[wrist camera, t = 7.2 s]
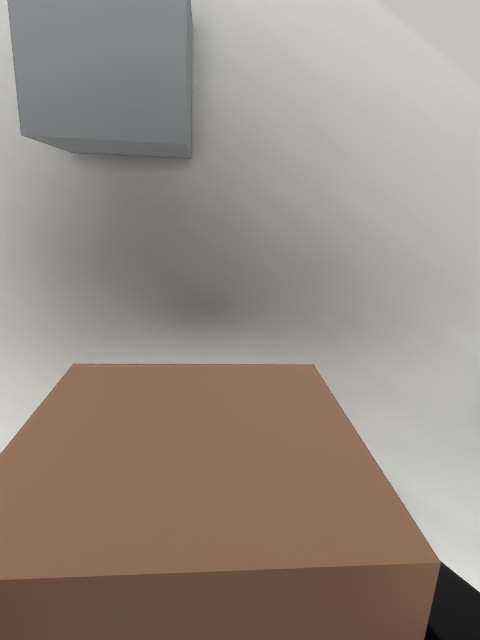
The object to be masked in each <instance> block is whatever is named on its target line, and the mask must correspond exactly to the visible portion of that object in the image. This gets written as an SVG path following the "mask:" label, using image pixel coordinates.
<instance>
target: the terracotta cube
mask: <svg viewBox="0 0 480 640" xmlns="http://www.w3.org/2000/svg"><path fill="white" fill-rule="evenodd" d="M440 565H441V562H440V560H439V559H438V557H437V556H436V554H435V552H434V551H433V549H432V548H431V546H430V545H429V543H428V542H427V540H426V538H425V537H424V535H423V534H422V532H421V531H420V529H419V528H418V526H417V525H416V523H415V521H414V520H413V518H412V517H411V515H410V514H409V512H408V511H407V509H406V507H405V506H404V504H403V503H402V501H401V500H400V498H399V497H398V495H397V493H396V492H395V490H394V489H393V487H392V486H391V484H390V483H389V481H388V480H387V478H386V476H385V475H384V473H383V472H382V470H381V469H380V467H379V466H378V464H377V462H376V461H375V459H374V458H373V456H372V455H371V453H370V452H369V450H368V448H367V447H366V445H365V444H364V442H363V441H362V439H361V438H360V436H359V435H358V433H357V431H356V430H355V428H354V427H353V425H352V424H351V422H350V421H349V419H348V417H347V416H346V414H345V413H344V411H343V410H342V408H341V407H340V405H339V403H338V402H337V400H336V399H335V397H334V396H333V394H332V393H331V391H330V390H329V388H328V386H327V385H326V383H325V382H324V380H323V379H322V377H321V376H320V374H319V372H318V371H317V369H316V368H315V366H314V365H276V364H73V365H72V366H71V367H70V369H69V370H68V371H67V372H66V374H65V375H64V376H63V377H62V378H61V380H60V381H59V382H58V383H57V385H56V386H55V387H54V388H53V390H52V391H51V392H50V393H49V395H48V396H47V397H46V398H45V399H44V401H43V402H42V403H41V404H40V406H39V407H38V408H37V409H36V411H35V412H34V413H33V414H32V416H31V417H30V418H29V419H28V420H27V422H26V423H25V424H24V425H23V427H22V428H21V429H20V430H19V432H18V433H17V434H16V435H15V437H14V438H13V439H12V440H11V441H10V443H9V444H8V445H7V446H6V448H5V449H4V450H3V451H2V453H1V454H0V640H424V638H425V633H426V629H427V624H428V619H429V615H430V610H431V606H432V601H433V597H434V592H435V587H436V583H437V578H438V574H439V569H440Z"/></svg>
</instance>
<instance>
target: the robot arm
mask: <svg viewBox="0 0 480 640" xmlns="http://www.w3.org/2000/svg"><path fill="white" fill-rule="evenodd" d="M440 562H441V561H440ZM424 640H480V592H479V591H477V590H476V589H475V588H474V587H472V586H471V585H470V584H469V583H467V582H466V581H465V580H464V579H462V578H461V577H460V576H459V575H457V574H456V573H455V572H454V571H452V570H451V569H450V568H449V567H447V566H446V565H445V564H444V563H442V562H441V565H440V569H439V574H438V578H437V583H436V587H435V592H434V597H433V601H432V606H431V610H430V615H429V619H428V624H427V629H426V633H425V638H424Z"/></svg>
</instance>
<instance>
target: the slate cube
mask: <svg viewBox="0 0 480 640" xmlns="http://www.w3.org/2000/svg"><path fill="white" fill-rule="evenodd" d="M7 1H8V11H9V20H10V30H11V40H12V50H13V60H14V70H15V80H16V90H17V100H18V110H19V120H20V129H21V135H22V136H25V137H28V138H31V139H34V140H37V141H40V142H43V143H46V144H49V145H52V146H54V147H57V148H60V149H63V150H66V151H69V152H74V153H94V154H113V155H133V156H152V157H172V158H191V151H192V12H191V0H7Z"/></svg>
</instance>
